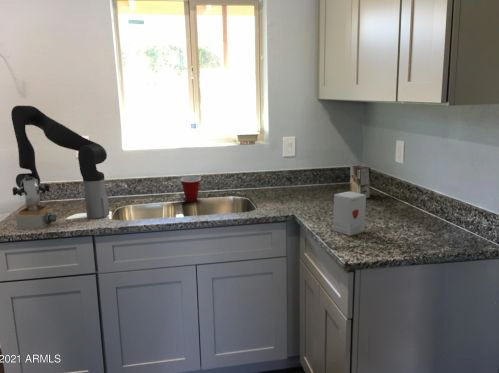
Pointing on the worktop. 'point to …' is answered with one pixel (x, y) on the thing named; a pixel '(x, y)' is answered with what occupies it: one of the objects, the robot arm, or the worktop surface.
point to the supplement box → (349, 213)
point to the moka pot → (32, 194)
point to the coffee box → (360, 180)
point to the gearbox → (35, 218)
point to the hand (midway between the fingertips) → (32, 192)
